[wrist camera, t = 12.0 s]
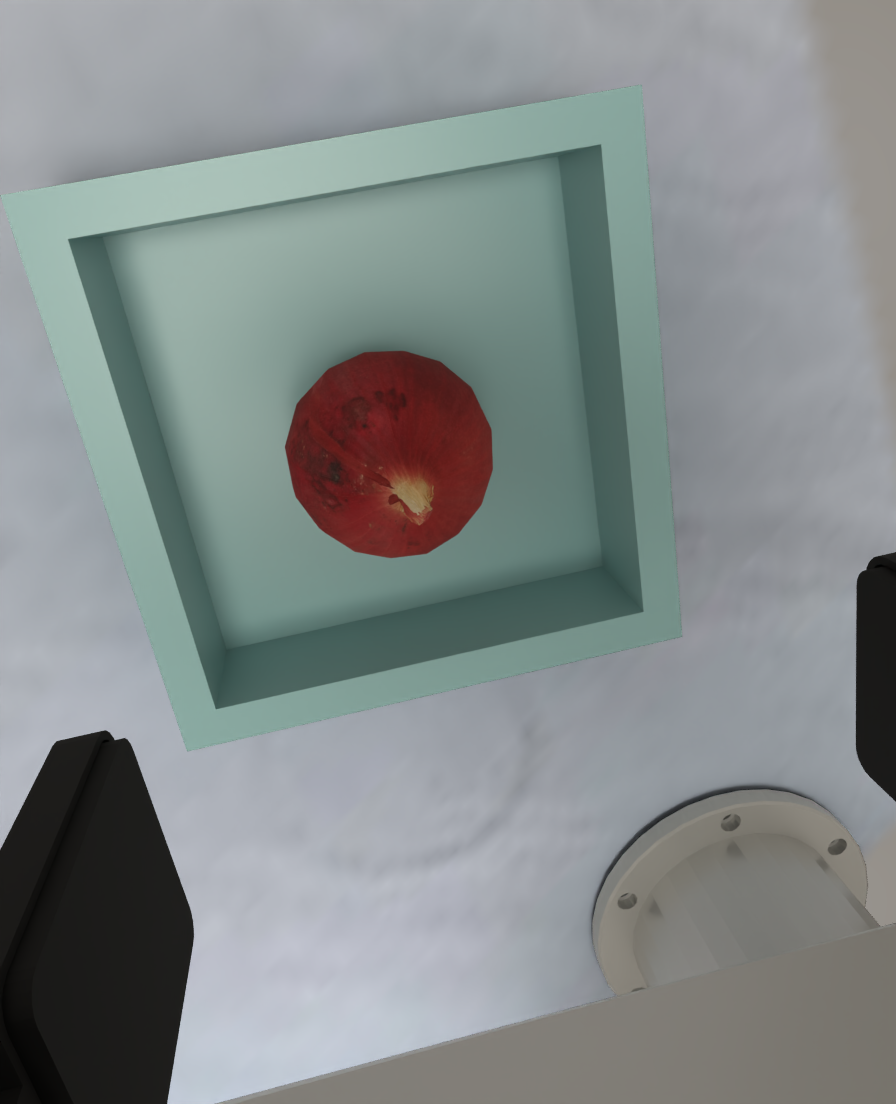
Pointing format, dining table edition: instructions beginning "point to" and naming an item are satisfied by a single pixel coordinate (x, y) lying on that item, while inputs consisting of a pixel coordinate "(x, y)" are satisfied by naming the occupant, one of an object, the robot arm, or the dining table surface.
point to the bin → (338, 335)
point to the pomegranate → (390, 453)
